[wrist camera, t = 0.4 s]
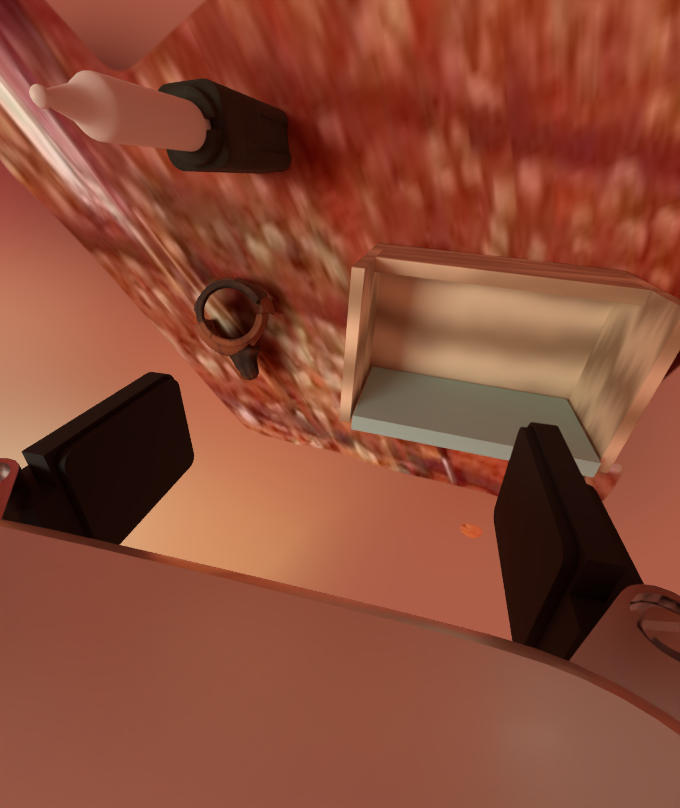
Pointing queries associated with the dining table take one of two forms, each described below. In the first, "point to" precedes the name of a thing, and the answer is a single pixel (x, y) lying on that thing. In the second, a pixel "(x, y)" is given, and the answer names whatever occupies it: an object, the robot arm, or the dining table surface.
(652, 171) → the dining table surface
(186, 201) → the dining table surface
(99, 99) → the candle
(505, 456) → the panel
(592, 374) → the wooden tray crate
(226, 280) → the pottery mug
